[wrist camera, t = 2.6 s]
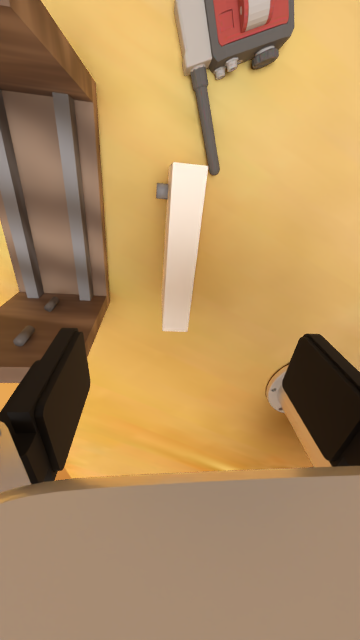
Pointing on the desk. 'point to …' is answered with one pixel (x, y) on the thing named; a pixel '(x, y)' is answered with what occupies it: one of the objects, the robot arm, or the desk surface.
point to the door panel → (181, 240)
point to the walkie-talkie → (228, 45)
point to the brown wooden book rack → (48, 189)
